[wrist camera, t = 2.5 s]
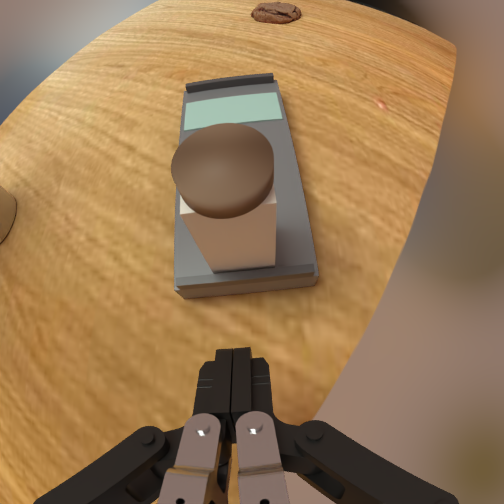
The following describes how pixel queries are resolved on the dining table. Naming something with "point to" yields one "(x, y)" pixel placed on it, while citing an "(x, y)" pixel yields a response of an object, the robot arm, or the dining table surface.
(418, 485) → the robot arm
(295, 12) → the cookie
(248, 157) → the brown piece
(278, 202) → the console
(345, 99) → the dining table surface
